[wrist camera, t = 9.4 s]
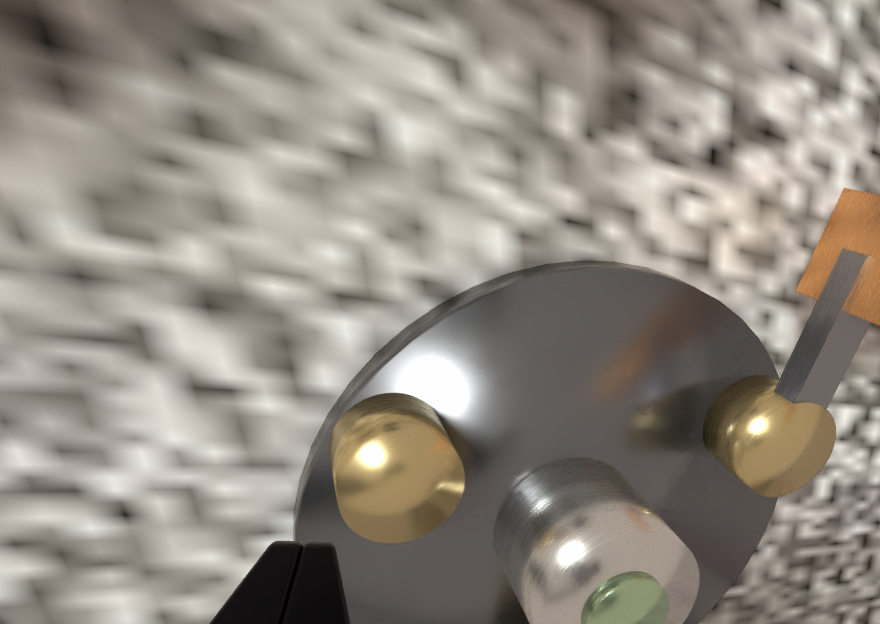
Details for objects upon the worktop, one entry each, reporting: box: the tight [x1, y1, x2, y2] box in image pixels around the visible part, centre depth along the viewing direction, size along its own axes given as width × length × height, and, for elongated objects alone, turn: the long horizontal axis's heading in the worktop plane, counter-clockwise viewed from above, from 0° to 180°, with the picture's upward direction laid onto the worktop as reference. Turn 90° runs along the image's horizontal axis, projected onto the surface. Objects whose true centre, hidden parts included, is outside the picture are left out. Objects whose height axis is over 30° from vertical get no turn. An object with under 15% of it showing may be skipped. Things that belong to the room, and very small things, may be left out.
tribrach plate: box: [293, 261, 779, 624], centre depth 24 cm, size 21×21×6 cm
